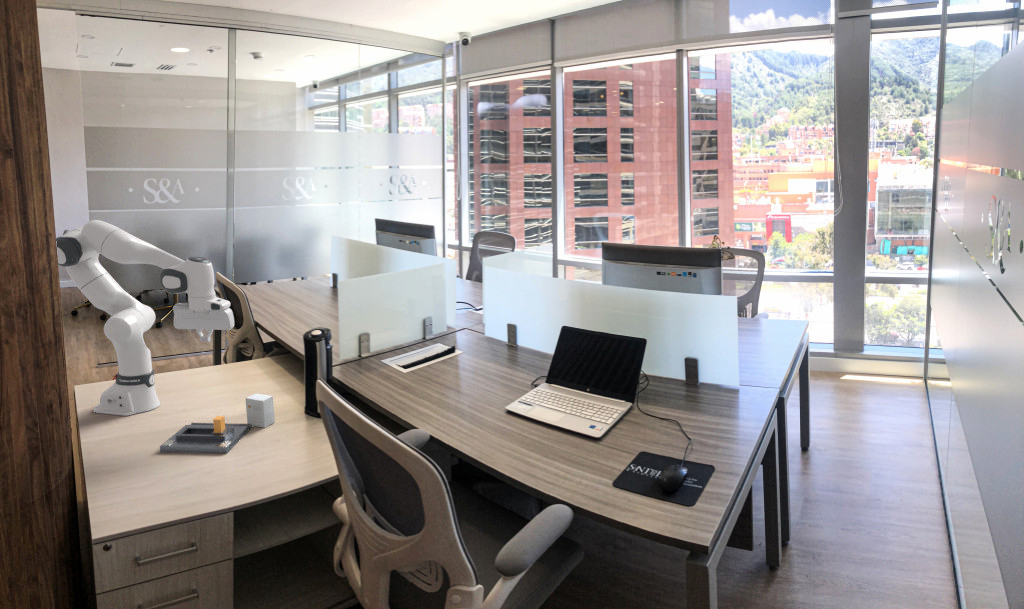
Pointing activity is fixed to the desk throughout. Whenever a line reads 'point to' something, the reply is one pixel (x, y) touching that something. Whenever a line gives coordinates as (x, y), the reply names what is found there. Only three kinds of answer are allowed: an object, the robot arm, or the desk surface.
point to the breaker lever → (219, 426)
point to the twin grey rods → (225, 424)
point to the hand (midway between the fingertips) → (205, 341)
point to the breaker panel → (203, 439)
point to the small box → (260, 410)
